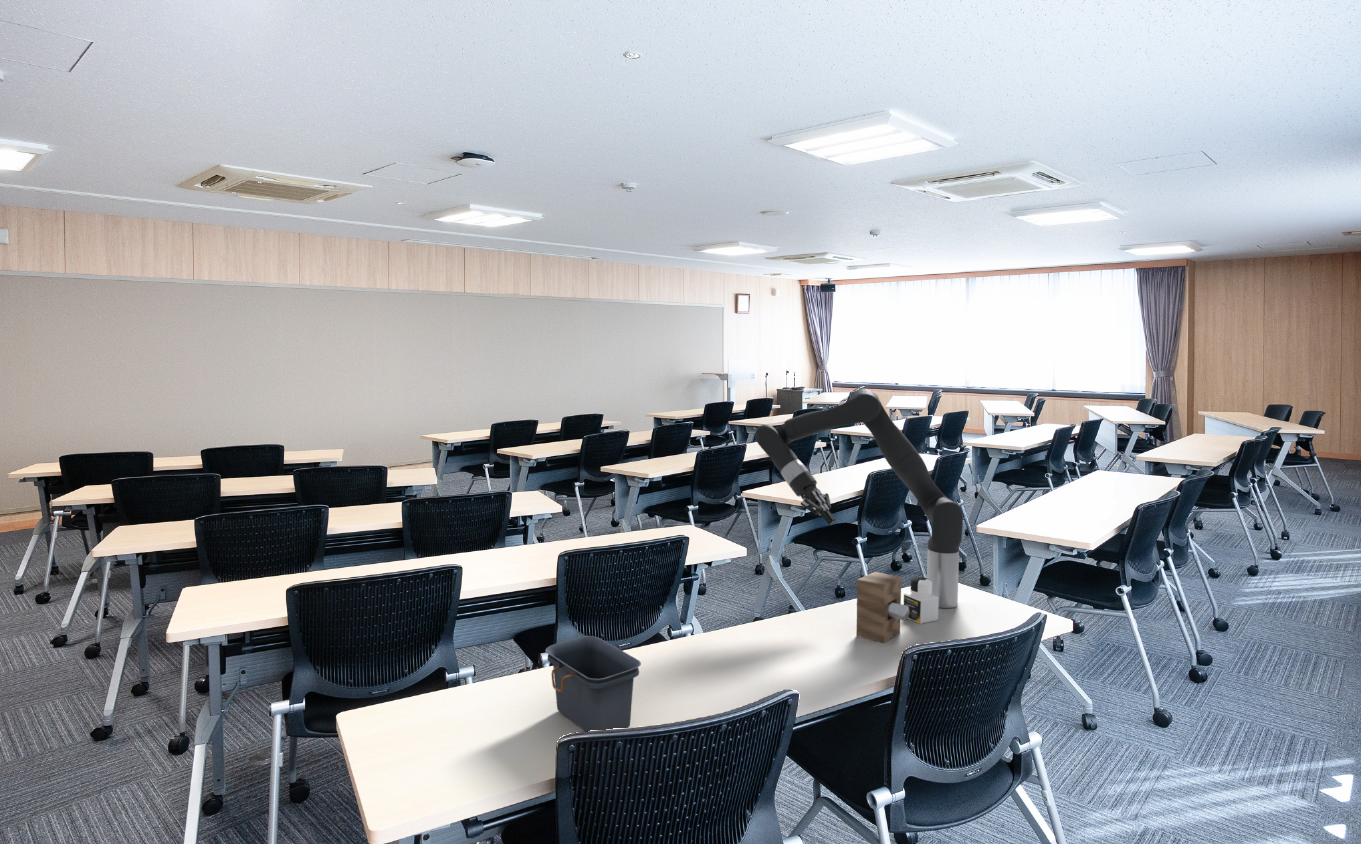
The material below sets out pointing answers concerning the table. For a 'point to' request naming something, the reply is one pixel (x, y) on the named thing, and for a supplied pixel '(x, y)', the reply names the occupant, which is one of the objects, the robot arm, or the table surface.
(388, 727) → the table surface
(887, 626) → the post
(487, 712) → the table surface
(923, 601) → the medicine bottle
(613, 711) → the storage bin
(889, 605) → the pin
